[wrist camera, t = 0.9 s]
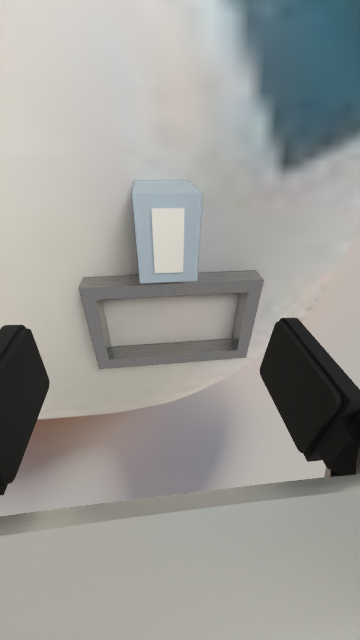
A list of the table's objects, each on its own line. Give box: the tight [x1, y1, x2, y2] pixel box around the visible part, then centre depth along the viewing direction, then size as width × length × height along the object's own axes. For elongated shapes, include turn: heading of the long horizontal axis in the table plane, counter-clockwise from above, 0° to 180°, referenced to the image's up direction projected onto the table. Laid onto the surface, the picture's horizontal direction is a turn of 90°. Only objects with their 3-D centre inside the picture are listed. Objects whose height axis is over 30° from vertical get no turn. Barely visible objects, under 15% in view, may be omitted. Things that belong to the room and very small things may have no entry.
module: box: [132, 180, 202, 283], centre depth 22 cm, size 5×7×7 cm
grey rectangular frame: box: [79, 270, 264, 369], centre depth 31 cm, size 20×12×2 cm, turn 89°
